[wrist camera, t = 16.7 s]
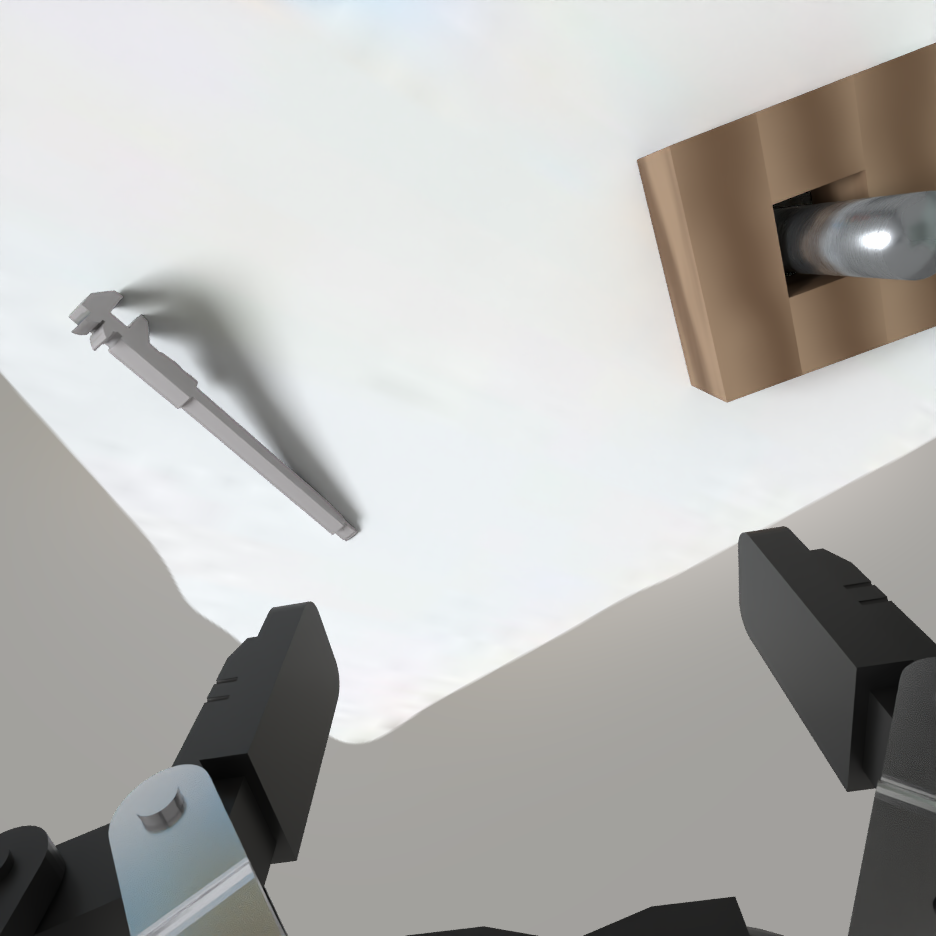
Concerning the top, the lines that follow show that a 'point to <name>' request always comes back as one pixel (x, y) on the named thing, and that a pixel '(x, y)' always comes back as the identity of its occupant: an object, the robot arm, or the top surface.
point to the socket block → (755, 235)
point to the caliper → (196, 402)
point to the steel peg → (861, 237)
